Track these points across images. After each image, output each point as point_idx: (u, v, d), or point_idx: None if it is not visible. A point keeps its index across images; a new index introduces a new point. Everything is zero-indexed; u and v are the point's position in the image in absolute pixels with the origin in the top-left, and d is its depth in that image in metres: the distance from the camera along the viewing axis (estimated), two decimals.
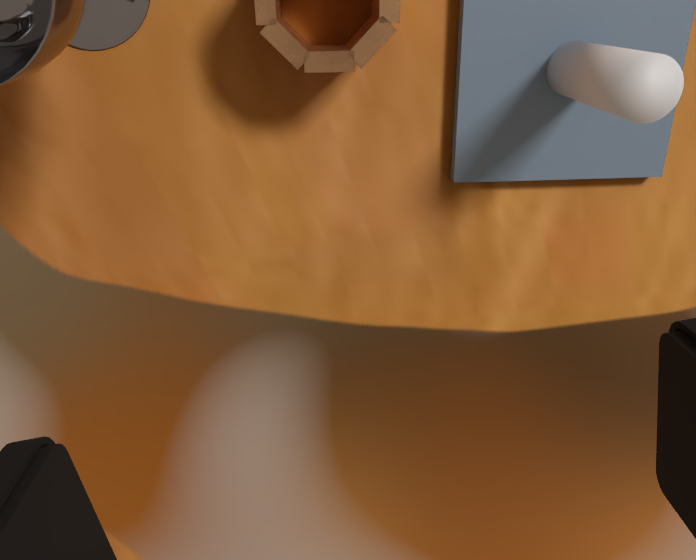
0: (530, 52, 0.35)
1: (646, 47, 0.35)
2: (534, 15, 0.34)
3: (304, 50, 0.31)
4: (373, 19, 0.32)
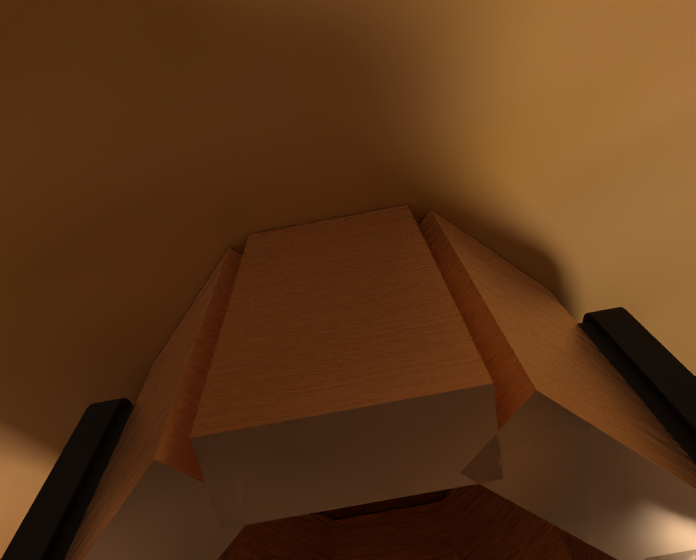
0: None
1: None
2: None
3: None
4: None
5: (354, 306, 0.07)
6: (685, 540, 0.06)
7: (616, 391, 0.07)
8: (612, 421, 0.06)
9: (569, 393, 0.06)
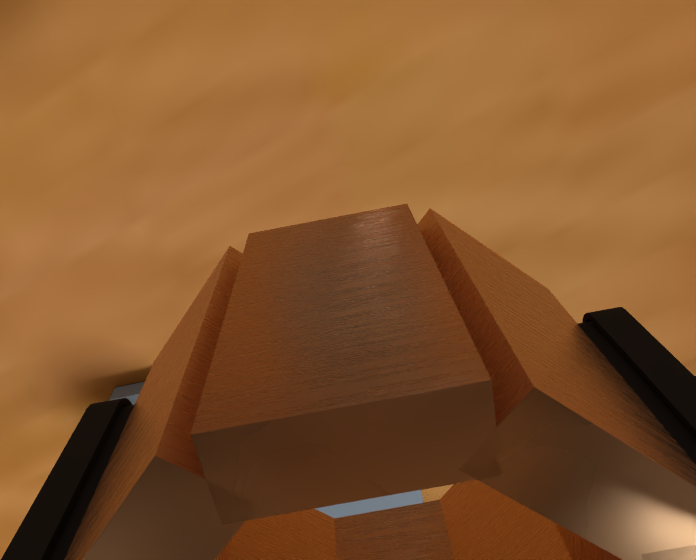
0: None
1: None
2: None
3: None
4: None
5: (354, 304, 0.07)
6: (682, 536, 0.06)
7: (614, 389, 0.07)
8: (610, 418, 0.06)
9: (567, 390, 0.06)
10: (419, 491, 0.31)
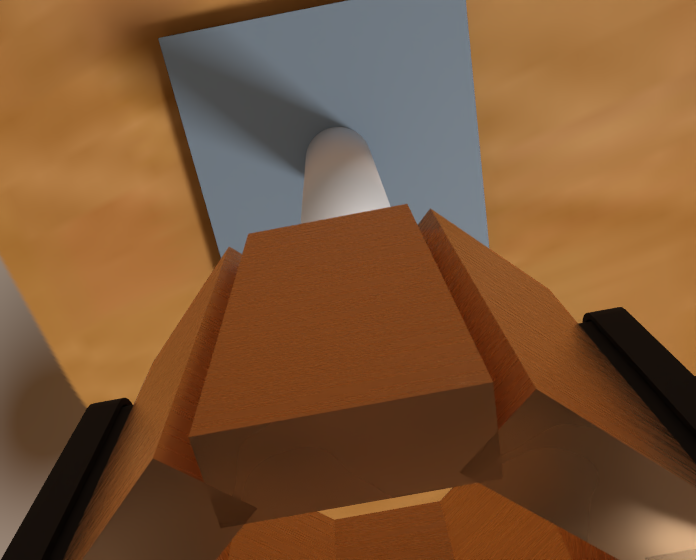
0: (348, 100, 0.28)
1: None
2: (390, 91, 0.27)
3: None
4: None
5: (354, 305, 0.07)
6: (686, 539, 0.06)
7: (616, 390, 0.07)
8: (612, 420, 0.06)
9: (569, 392, 0.06)
10: (480, 179, 0.29)
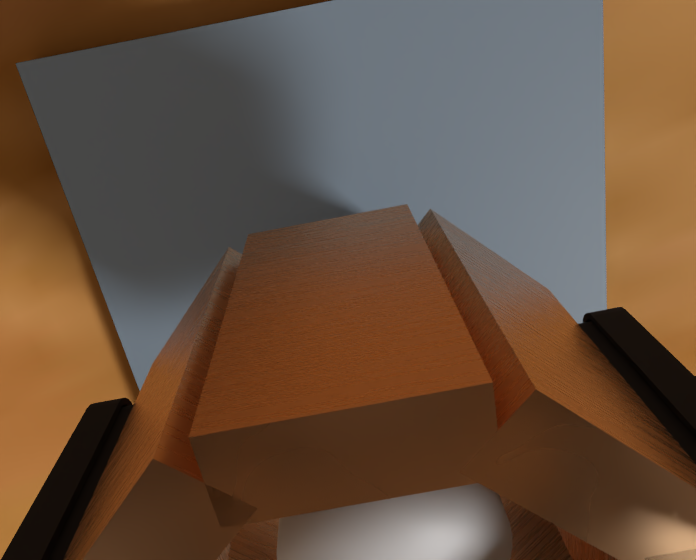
0: (375, 174, 0.15)
1: None
2: (453, 159, 0.15)
3: None
4: None
5: (354, 306, 0.07)
6: (685, 539, 0.06)
7: (616, 390, 0.07)
8: (612, 420, 0.06)
9: (569, 392, 0.06)
10: (603, 305, 0.17)
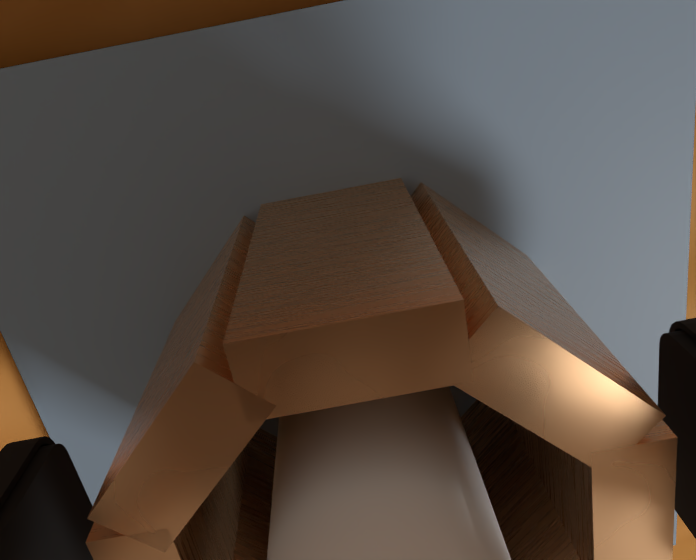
0: None
1: None
2: (490, 215, 0.11)
3: (174, 529, 0.07)
4: None
5: (354, 253, 0.08)
6: (624, 437, 0.07)
7: (574, 326, 0.08)
8: (564, 339, 0.07)
9: (528, 315, 0.07)
10: None
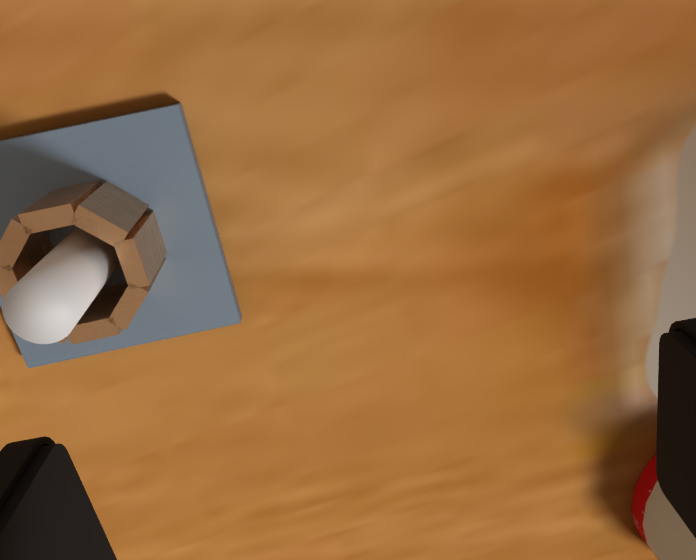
0: None
1: None
2: (133, 191, 0.34)
3: (11, 265, 0.30)
4: None
5: (61, 198, 0.31)
6: (119, 238, 0.30)
7: (123, 216, 0.31)
8: (103, 215, 0.30)
9: (93, 209, 0.30)
10: (220, 257, 0.36)
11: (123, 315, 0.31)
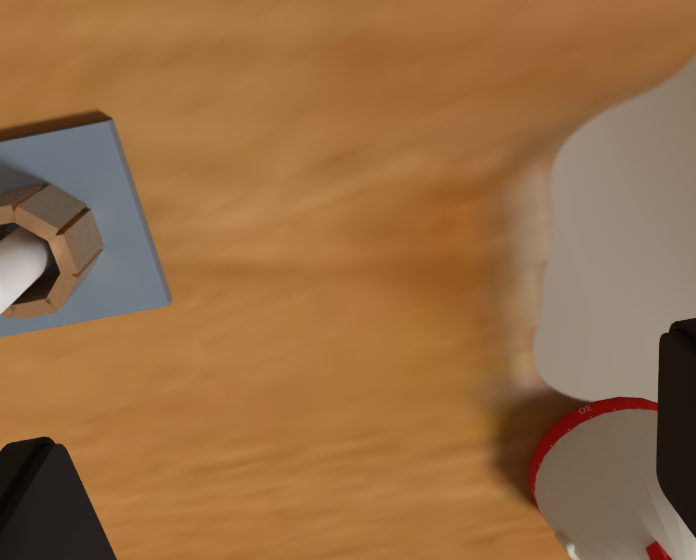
0: None
1: (82, 289, 0.43)
2: (73, 193, 0.40)
3: None
4: (25, 290, 0.40)
5: (7, 199, 0.37)
6: (51, 234, 0.36)
7: (58, 215, 0.37)
8: (39, 214, 0.36)
9: (30, 209, 0.36)
10: (149, 249, 0.42)
11: (57, 297, 0.38)
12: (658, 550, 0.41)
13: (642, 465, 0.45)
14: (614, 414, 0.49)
